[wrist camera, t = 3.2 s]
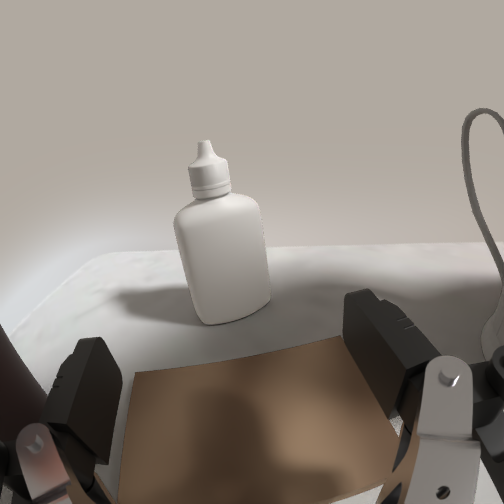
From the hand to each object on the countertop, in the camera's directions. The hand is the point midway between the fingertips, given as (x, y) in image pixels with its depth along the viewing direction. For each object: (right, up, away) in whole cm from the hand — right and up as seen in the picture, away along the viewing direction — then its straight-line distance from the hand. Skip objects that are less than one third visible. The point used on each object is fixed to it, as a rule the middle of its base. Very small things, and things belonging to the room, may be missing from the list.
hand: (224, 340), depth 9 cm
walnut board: (+1, -6, +3) cm, 7 cm away
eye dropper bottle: (0, -1, +13) cm, 13 cm away
